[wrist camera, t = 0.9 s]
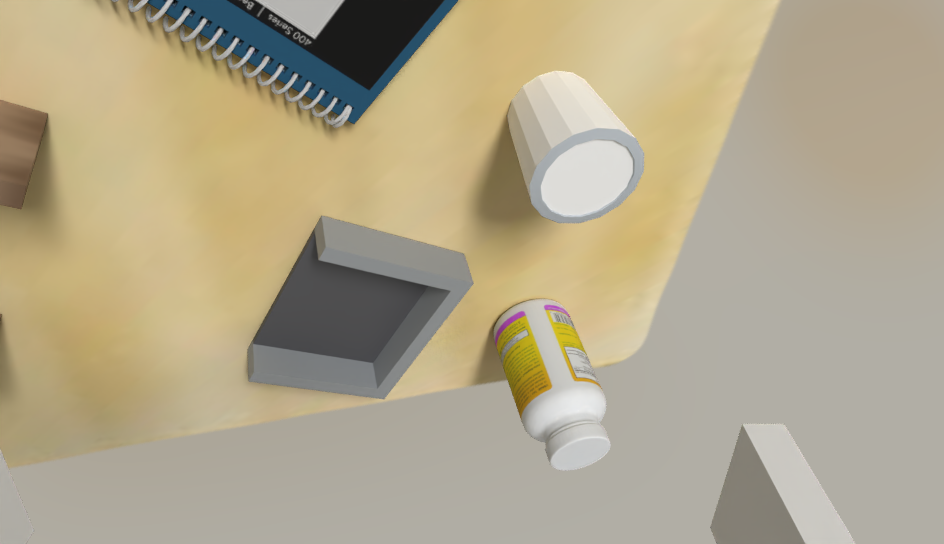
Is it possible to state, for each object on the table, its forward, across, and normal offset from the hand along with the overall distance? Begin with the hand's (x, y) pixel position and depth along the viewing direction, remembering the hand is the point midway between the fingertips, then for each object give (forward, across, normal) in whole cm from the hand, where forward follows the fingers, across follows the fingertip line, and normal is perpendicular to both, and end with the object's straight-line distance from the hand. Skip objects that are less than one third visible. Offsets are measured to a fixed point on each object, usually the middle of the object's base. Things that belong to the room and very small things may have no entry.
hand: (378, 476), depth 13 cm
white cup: (+34, +8, -4) cm, 35 cm away
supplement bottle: (+40, +9, -24) cm, 48 cm away
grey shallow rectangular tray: (+35, -6, -19) cm, 40 cm away
